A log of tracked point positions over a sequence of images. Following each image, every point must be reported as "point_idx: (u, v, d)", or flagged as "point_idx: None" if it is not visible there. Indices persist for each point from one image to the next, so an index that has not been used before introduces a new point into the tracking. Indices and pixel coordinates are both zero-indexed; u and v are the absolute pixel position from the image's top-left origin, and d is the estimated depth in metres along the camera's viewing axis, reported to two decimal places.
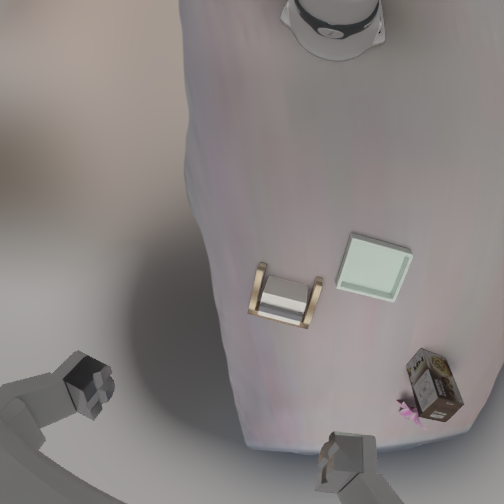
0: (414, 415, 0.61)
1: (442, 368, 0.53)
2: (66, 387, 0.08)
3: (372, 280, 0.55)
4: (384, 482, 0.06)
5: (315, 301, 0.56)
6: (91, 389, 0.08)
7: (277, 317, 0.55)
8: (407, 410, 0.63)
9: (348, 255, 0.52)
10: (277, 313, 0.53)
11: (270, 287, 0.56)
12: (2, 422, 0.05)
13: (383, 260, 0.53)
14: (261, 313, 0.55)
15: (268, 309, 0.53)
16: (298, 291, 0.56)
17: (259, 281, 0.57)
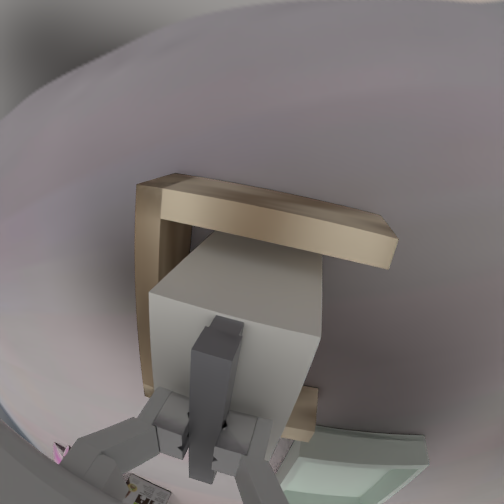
0: None
1: None
2: (156, 431, 0.07)
3: (305, 473, 0.20)
4: (271, 471, 0.07)
5: None
6: (186, 430, 0.08)
7: (166, 382, 0.10)
8: None
9: (390, 466, 0.15)
10: (201, 430, 0.08)
11: None
12: (2, 422, 0.05)
13: (350, 481, 0.20)
14: (163, 314, 0.09)
15: (220, 401, 0.07)
16: None
17: (333, 248, 0.10)
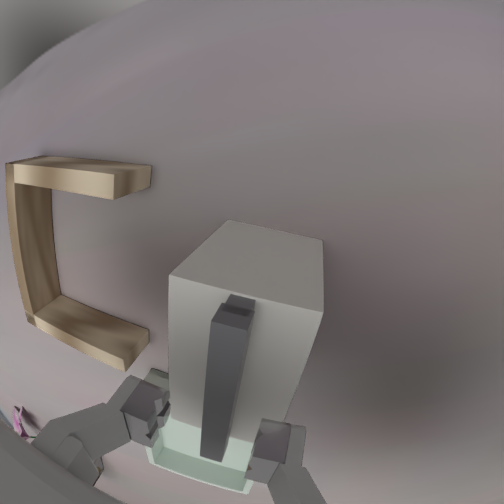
0: (19, 433, 0.35)
1: None
2: (124, 418, 0.08)
3: (176, 429, 0.23)
4: (309, 477, 0.07)
5: (84, 350, 0.18)
6: (153, 418, 0.08)
7: (180, 361, 0.11)
8: (19, 423, 0.35)
9: None
10: (215, 402, 0.09)
11: None
12: (2, 422, 0.05)
13: None
14: (181, 295, 0.10)
15: (234, 370, 0.08)
16: None
17: (80, 187, 0.13)
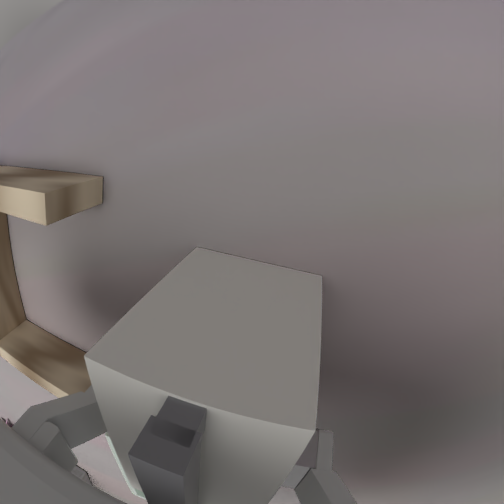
0: None
1: None
2: None
3: None
4: (339, 480, 0.06)
5: (47, 388, 0.14)
6: None
7: (126, 447, 0.07)
8: None
9: None
10: None
11: None
12: (2, 422, 0.05)
13: None
14: (105, 383, 0.06)
15: (178, 500, 0.04)
16: None
17: (14, 209, 0.09)
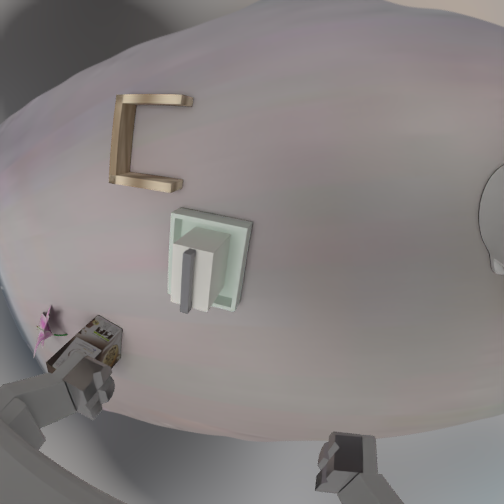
0: (43, 333, 0.55)
1: (107, 363, 0.49)
2: (66, 387, 0.08)
3: None
4: (384, 482, 0.06)
5: (147, 186, 0.37)
6: (91, 389, 0.08)
7: (175, 272, 0.36)
8: (45, 323, 0.55)
9: (220, 224, 0.37)
10: (184, 280, 0.34)
11: (218, 253, 0.36)
12: (2, 422, 0.05)
13: None
14: (176, 249, 0.34)
15: (189, 267, 0.33)
16: (217, 286, 0.39)
17: (164, 101, 0.32)
